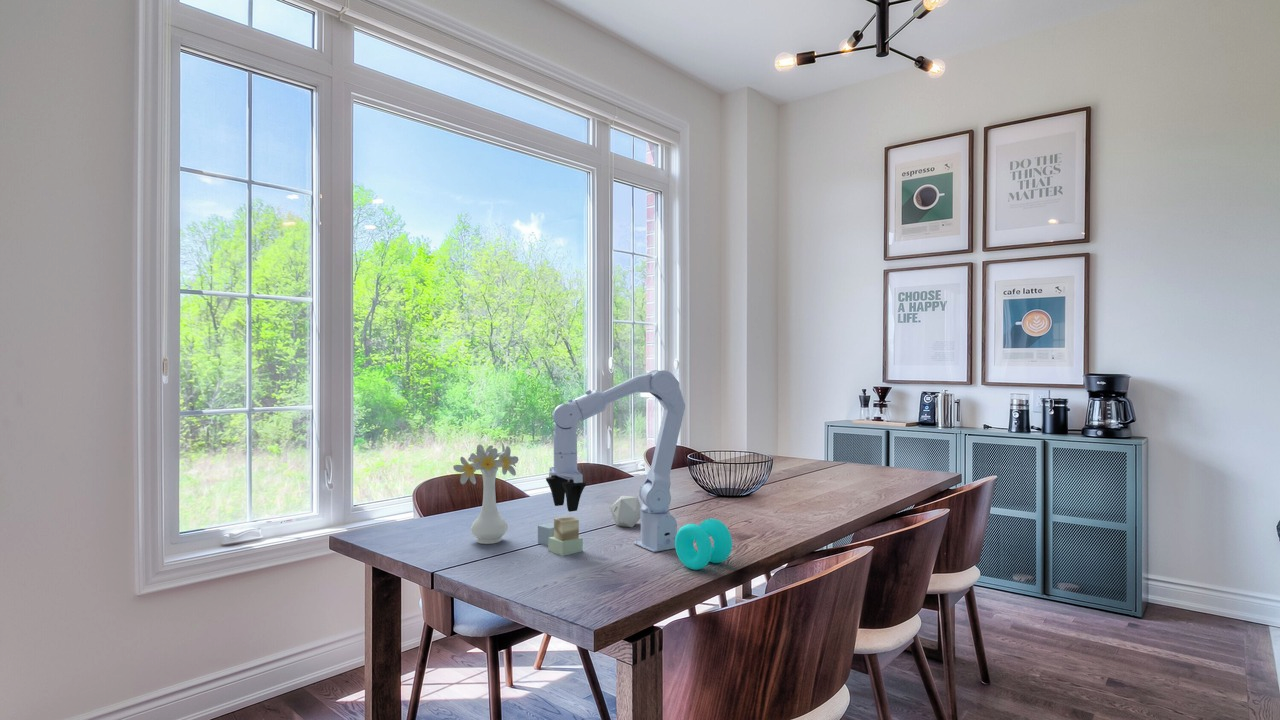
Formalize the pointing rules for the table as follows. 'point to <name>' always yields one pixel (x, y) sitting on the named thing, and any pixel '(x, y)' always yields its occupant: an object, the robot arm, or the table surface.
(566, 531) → the beech cube
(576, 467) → the robot arm
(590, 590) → the table surface
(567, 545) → the pale green block
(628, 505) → the die
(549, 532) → the slate cube
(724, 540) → the donuts
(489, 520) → the flower vase
